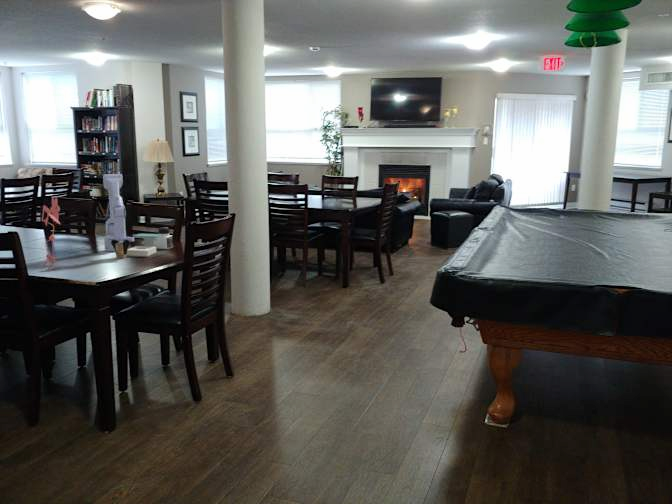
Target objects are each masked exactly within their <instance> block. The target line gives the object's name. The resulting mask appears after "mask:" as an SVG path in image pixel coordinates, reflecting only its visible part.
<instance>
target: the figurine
mask: <svg viewBox="0 0 672 504" xmlns="http://www.w3.org/2000/svg"><path fill="white" fill-rule="evenodd" d="M60 211H61V208H60V206H59V205H58V198H57V197H54V196H52V197H51V206H50V208H48V206H46V205H43V206H42V215H41V222H44V224H45V226H46V227H47V226H48V224H49V225H51V227H52V228H53V229H52V234H51V235H50V236H49V237H48V240H46V241H45V242H44V243H45V248H46V251H47V254H46V255H45V256H46V259H45V261H44V264H43V267H45V266H46V265H47V262H48V261H49V262H50V264H49V266H48V268H47V270H49V271H50V269H51V267H52V265H55V263H56V264H57V265H58V267H60V268H61V269H63V267H62V266H61V264H60V263H58V262H57V261H56V259H55V253H54V252H55V251H54V250H55V249H54V248H52V256H51V255H50V253H49V249H48V246H47V243H48V242H50V241H51V242H52V245H51V246H52V247H54V244H55V243H54V242H55V241H56V236H55V235H54V234H55V225H54V224H53V223H51V222H49V218H51V219H52V222H54V223H55V222H56V224H58V225H61V223H60V221H59V213H60ZM45 213H46V214H47V215H46V218H45V219H44V214H45ZM63 263H65V264H73V265H75V266H77V264H76V263H73V262H70V261H69V262H67V261H64V262H63Z"/></svg>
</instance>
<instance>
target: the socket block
mask: <svg viewBox="0 0 672 504" xmlns="http://www.w3.org/2000/svg"><path fill="white" fill-rule="evenodd" d="M155 254H157V248H156V247H150V246H144V245H143V246H141V245H135V246H132V247H129V248H128V250H127V257H134V258H135V257H138V258H139V257H140V258H141V257H142V258H149V257H152V256H153V255H155Z"/></svg>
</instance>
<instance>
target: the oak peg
mask: <svg viewBox="0 0 672 504" xmlns="http://www.w3.org/2000/svg"><path fill="white" fill-rule="evenodd" d="M127 257H128V256H127V254H124V248H123V244H122V242H119V243H116V253H115V258H116V259H122V260H123V259H125V258H127Z"/></svg>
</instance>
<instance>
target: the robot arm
mask: <svg viewBox="0 0 672 504" xmlns="http://www.w3.org/2000/svg"><path fill="white" fill-rule="evenodd" d="M102 179H103V180H102V183H103V187H104V189H106V190H107V192H108V200H109V215H110V216H109V219H107V220H106V221H105V236H104V239H103V241H104V242H103V243H104V250H103V251H104V252H114V253H115V254H116V243H119V242H122V244H123V248H124V254H127V250H128V249H129V248H130V247H129V246H130V244H131V242H135V237H134V236H132V237H131V236H127V231H126V217H127V211H126V206H125V204H124V201H123V196H121V195H120V189H121V188H122V186H123V183H124V180H123V174H122V173H113V174H112V173H110V174H109V173H108V174H107V173H106V174H105V173H103V175H102Z"/></svg>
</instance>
